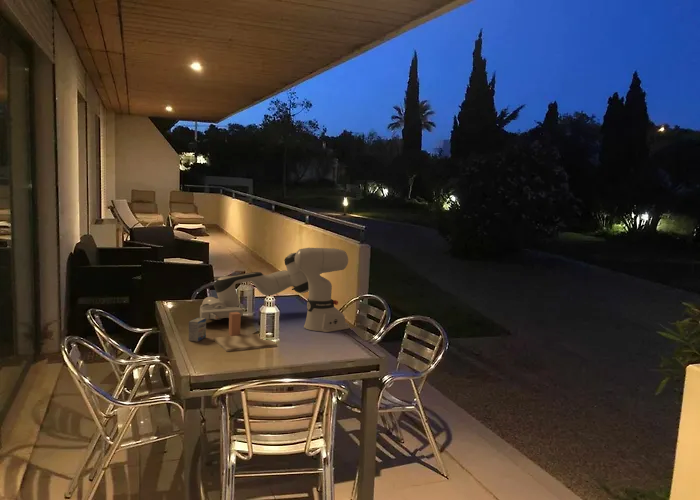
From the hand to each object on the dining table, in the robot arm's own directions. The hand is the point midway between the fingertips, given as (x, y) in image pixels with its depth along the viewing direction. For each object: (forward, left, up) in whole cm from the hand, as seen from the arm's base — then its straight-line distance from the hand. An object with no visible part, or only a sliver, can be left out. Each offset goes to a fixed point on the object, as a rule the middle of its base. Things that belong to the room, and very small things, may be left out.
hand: (226, 316), depth 265 cm
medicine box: (+17, +13, -6) cm, 22 cm away
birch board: (0, +26, -6) cm, 27 cm away
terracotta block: (0, +12, -6) cm, 13 cm away
